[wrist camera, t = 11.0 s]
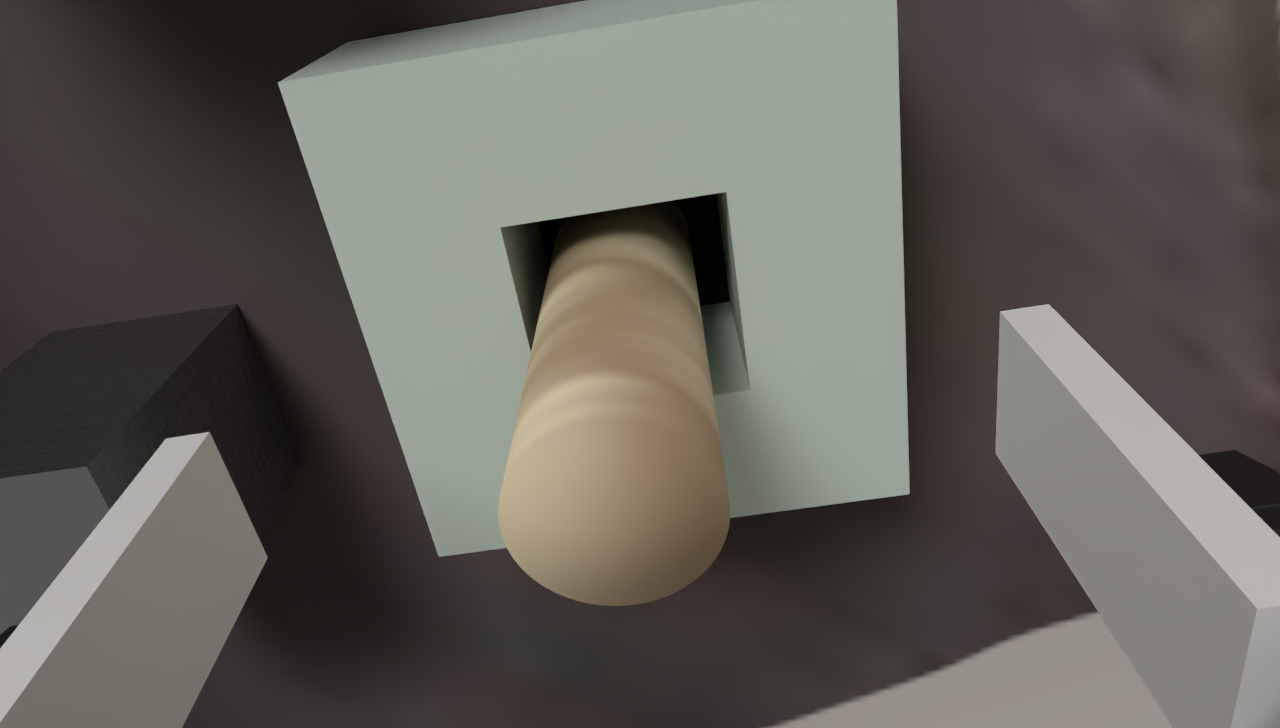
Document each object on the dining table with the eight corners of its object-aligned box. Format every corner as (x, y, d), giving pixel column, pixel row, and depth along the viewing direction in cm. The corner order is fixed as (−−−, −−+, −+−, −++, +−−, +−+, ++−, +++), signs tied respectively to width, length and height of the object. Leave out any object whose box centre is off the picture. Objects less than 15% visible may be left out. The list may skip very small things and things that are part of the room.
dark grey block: (132, 488, 28) (-33, 689, 21) (51, 331, 26) (-166, 501, 19) (301, 464, 28) (191, 661, 21) (237, 303, 26) (86, 466, 18)
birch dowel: (572, 312, 26) (528, 619, 15) (543, 191, 24) (470, 440, 13) (699, 291, 25) (743, 589, 15) (678, 166, 24) (712, 402, 13)
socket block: (469, 448, 28) (438, 556, 23) (348, 41, 22) (277, 82, 18) (864, 393, 27) (909, 494, 23) (841, -45, 21) (896, -24, 17)
